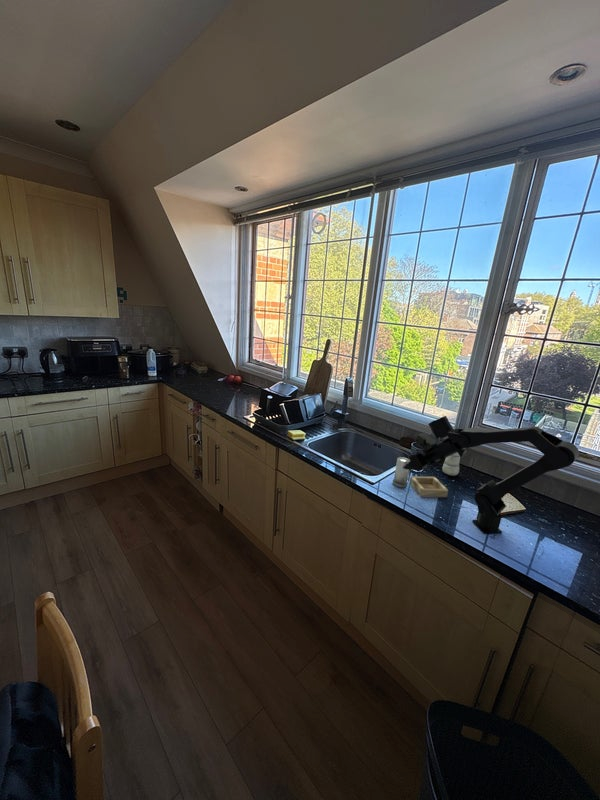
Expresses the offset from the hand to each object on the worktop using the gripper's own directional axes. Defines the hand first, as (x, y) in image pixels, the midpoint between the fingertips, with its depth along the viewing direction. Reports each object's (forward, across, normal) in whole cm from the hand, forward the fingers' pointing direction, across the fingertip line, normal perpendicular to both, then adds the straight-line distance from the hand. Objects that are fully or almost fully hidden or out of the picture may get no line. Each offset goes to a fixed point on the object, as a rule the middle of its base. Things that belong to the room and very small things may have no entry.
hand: (410, 464), depth 126 cm
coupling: (+10, 0, +5) cm, 11 cm away
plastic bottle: (+4, -27, +11) cm, 30 cm away
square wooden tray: (+3, -6, +11) cm, 13 cm away
